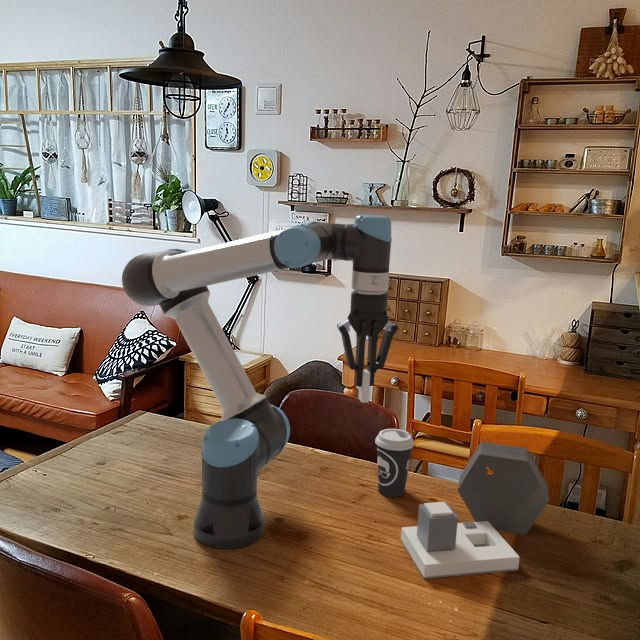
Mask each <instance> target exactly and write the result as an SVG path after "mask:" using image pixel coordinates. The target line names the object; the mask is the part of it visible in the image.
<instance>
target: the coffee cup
mask: <svg viewBox="0 0 640 640" xmlns="http://www.w3.org/2000/svg"><path fill="white" fill-rule="evenodd" d="M374 443H375V444H376V451H377V452H376V453H377V454H376V455H377V488H378V489H377V490H378V493H379V494H380V495H382V496H385V497H387V498H399V497H402V496H404V494H405V492H406V487H407V486H406V484H407V478H408V474H409V473H408V471H409V466H410V461H411V455H412V449H413V448H414V447H415V442H414V439H413V437H412V434H411V433H409V432H408V431H406V430H403V429H399V428H386V429H385V428H384V429H382V430H380V431H379V432H378V435H377V436H376V437H375V439H374Z"/></svg>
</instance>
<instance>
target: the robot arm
mask: <svg viewBox="0 0 640 640" xmlns="http://www.w3.org/2000/svg"><path fill="white" fill-rule="evenodd" d="M392 241H393V238H392V220H391V219H390V218H389V217H388V216H385V215H375V214H374V215H369V214H359V215H357V216H355V218H354V221H353V223H351V224H350V223H347V224H346V223H336V222H335V223H334V222H321V221H305V222H302V223H301V224H297V225H292V226H287V228H284V229H280V230H277V231H271V232H266V233H262V234H258V235H254V236H250V237H245V238H242V239H237V240H234V241H233V240H232V241H229V242H226V243H220V244H215V245H212V246H208V247H203V248H199V249H195V250H188V249H182V248H181V249H179V248H170V249H167V250H162V251H154V252H153V251H152V252H147V253H141V254H139V255H136V256H134V257H133V258H131V259H130V260H129V261H128V262H127V264H126V265H125V266H124V269H123V270H122V273H121V283H122V288H123V291H124V292H125V294H126V295H127V297H129V299H130V300H131V301H133V302H135V303H136V304H138V305H141V306H144V307H153V306H154V307H156V306H159V307H160V309H161V311H162V312H163V314H164V316H165V317H168V318H170V319H173V320H174V321H175V323H176V324H177V326H178V329H179V330H180V332H181V334H182V336H183V338H184V340H185V341H186V344H187V346H188V347H189V349H190V352H192V355H193V357H194V358H195V360H196V362H197V364H198V366H199V368H200V370H201V372H202V373H203V375H204V377H205V380H207V382H208V385H209V386H210V389H211V391H212V392H213V394H214V396H215V397H216V400H217V401H218V404H219V405H220V407H221V409H222V410H223V411H222V415H221V418H220V420H219V421H216V422H214V423H212V424H211V425H209V426H208V427H207V428H206V429H205V430H204V433H203V435H202V443H201V452H200V453H201V499H200V501H199V506H198V508H197V510H196V514H195V517H194V520H193V535H194V537H195V539H196V540H197V541H199V542H200V544H203V545H205V546H208V547H211V548H215V549H223V550H224V549H227V550H228V549H229V550H231V549H236V548H243V547H246V546H249V545H251V544H253V543H255V542H257V541H258V540H260V538H261V537H262V536H263V535H264V532H265V517H264V514H263V512H262V509H261V505H260V501H259V499H258V490H257V489H258V473H259V471H260V470H261V469H263V468H264V467H265V466H266V465H267V464H268V463H270V461H271V460H273V458H276V457H278V455H280V454H281V452H282V451H283V450H284V448H285V447H286V446H287V444H288V441H289V438H290V437H291V436H290V435H291V426H290V421H289V419H288V417H287V415H286V414H285V412H284V411H283V410H282V409H280V408H279V407H277V406H275V405H274V404H271V403H270V401H268V398H267V396H266V395H265V394H260V393H258V392H256V389H255V388H254V386H253V384H252V382H251V381H250V378H249V377H248V375H247V373H246V371H245V369H244V367H243V365H242V363H241V361H240V359H239V358H238V356H237V354H236V352H235V350H234V348H233V346H232V344H231V343H230V341H229V339H228V337H227V336H226V334H225V332H224V329H223V328H222V326H221V324H220V323H219V321H218V318H217V316H216V315H215V313H214V311H213V309H212V308H211V306H210V304H209V299H210V296H211V292H210V290H209V289H210V288H208V286H211V285H212V286H213V285H217V284H221V283H226V282H230V281H235V280H240V279H244V278H249V277H250V278H251V277H254V276H258V275H265V274H269V273H273V272H274V273H275V272H278V271H283V270H289V269H295V268H297V269H298V268H302V267H306V266H309V265H311V264H314V263H319V262H322V261H326V260H331V261H332V260H333V261H334V260H335V261H345V262H352V273H351V274H352V275H351V289H352V290H353V291H352V292H351V293H350V295H351V296H350V311H349V314H348V316H347V319H346V320H345V321H343V322H342V323H341V322H338V323H337V325H336V328H337V329H338V331H339V333H340V334H341V340H342V344H343V350H344V355H345V362H346V365H347V367H348V368H349V369H350V370H352V371H355V375H354V376H355V377H354V383H355V386H356V387H358V400H359V401H360V403H370V402H369V400H370V387H373V386H374V385H375V374H376V373H377V371H378V370H383V369H384V367H385V364H386V360H387V358H388V354H389V351H390V347H391V345H392V344H391V343H392V341H393V338H394V335H395V334H396V333H397V331H398V330H399V326H398V325H397V324H395V323H393V322H391V321H389V316H388V314H387V313H388V312H387V311H388V297H389V295H388V294H387V291H388V290H389V277H390V261H391V250H392V249H391V248H392ZM350 327H351V328H352V329H353V331H354V332H355V336H356V345H355V347H356V348H355V356H354V351H353V347H352V340H351V337H350V334H349V332H350V331H351V328H350ZM383 329H384V332H383V335H382V339H381V342H380V346H379V348H378V340H379V334H380V333H381V332H382V331H383ZM367 338H368V342H367V357H366V368H365V354H366V353H365V351H366V341H367ZM377 348H378V349H379V350H377ZM377 351H378V352H377Z"/></svg>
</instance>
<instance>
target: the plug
mask: <svg viewBox="0 0 640 640" xmlns="http://www.w3.org/2000/svg"><path fill="white" fill-rule="evenodd" d="M417 514H418V515H417V525H416V526H417V536H418V538H419V539H420V541H421V542H422V544H423V546H424V547H425V549H426V550H427V551H436V550H447V549H455V545H456V534H457V523H459V522H458V521H459V516H458V515H457V514H456V512H455V511H454V510H453V509H452V507H450V505H449V503H447V502H445V501H439V502H438V501H437V502H425V503H419V504H418V513H417Z"/></svg>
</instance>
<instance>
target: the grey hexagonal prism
mask: <svg viewBox="0 0 640 640" xmlns="http://www.w3.org/2000/svg"><path fill="white" fill-rule="evenodd" d="M489 471H490V472H493V473H492V474H489V473H488V472H489ZM457 485H458V487H457V492H458V494H459V496H460V497H461V499H462V501H463V503H464V504H465V507H466V508H467V510H468V511H469V513H470V515H471V517H472V518H473V520H474V522H482V521H488V522H489V523H490V524H491V525H492V526H493V527H494V529H495V530H496V531H497V532H501V533H502V532H503V533H509V534H514V535H520V536H526V535H527V534H528V533H529V531H530V530H531V528H532V527H533V525H534V524H535V522H536V521H537V519H538V517H539V516H541V513H542V512H543V511H544V509H545V507H546V506H547V504H549V503H548V502H549V501H550V496H549V488H548V483H547V482H546V479H545V478H544V476H543V475H542V473H541V471H540V469H539V467H538V466H537V464H536V462H535V460H534V459H533V457H532V456H531V454H530V451H529V450H528V448H526V447H520V446H514V445H506V444H498V443H493V442H492V443H491V442H487V441H486V442H485V441H481V442H480V443H479V444H478V446H477V447H476V449H475V450H474V452H473V454H472V455H471V458H470V459H469V461H468V462H467V464H466V465H465V466H464V469H463V470H462V472H461V474H460V475H459V481H458V484H457Z"/></svg>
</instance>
